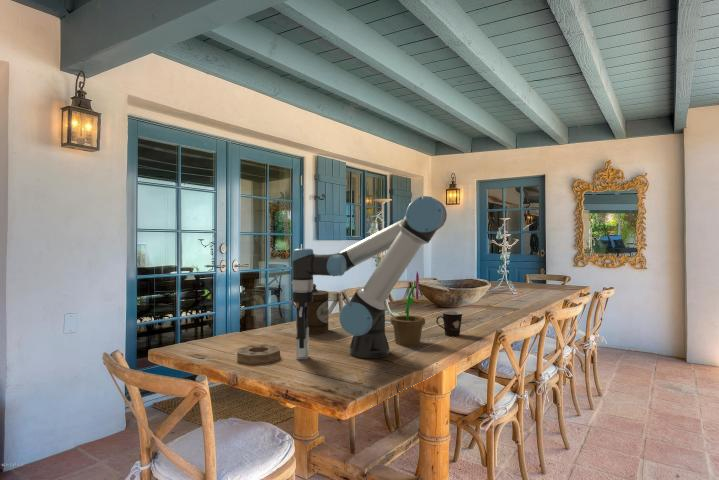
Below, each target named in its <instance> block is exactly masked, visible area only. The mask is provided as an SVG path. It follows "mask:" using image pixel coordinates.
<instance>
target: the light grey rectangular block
mask: <svg viewBox="0 0 719 480" xmlns="http://www.w3.org/2000/svg"><path fill="white" fill-rule="evenodd" d="M295 331H296V337H297V329H296V328H295ZM296 337H295V340H296V341H295V342H296V345H295V346H296V347H295V348H296V350H295V351H296V355H295V356H296V359H295V360H308V359H309V354H310V350H309V349H310V347H309V346H310V344H309V343H310V340H309V339H310V335H309V327H305V338H306V357H298V339H296Z"/></svg>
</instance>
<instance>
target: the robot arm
mask: <svg viewBox="0 0 719 480" xmlns="http://www.w3.org/2000/svg"><path fill="white" fill-rule="evenodd" d="M447 216H448V215H447V210H446V207H445V206H444V204H443V203H442V202H441V201H439V199H436V198H434V197H433V196H429V195H428V196H427V195H423V196H420V197H419V196H418V197H416V198H415V199H413V200H412V201H410V203H409V204H408V206H407V207H406V211H405V214H404V217H403V218H402V219H401V220H398V221H396V222H395V223H392V224H391V225H388V226H387V227H385V228H383V229H381V230H379V231H377V232H375V233H373V234H371V235H369V236H367V237H366V238H364V239H362V240H360V241H358V242H356V243H354V244H353V245H351V246H349V247H347V248H345V249H343V250H340V251H339V252H337V253H332V254H331V253H330V254H318V253H317V254H316V253H314V250H313V248H295V249H293V251H292V257H291V259H292V260H291V263H292V264H291V265H292V271H291V272H292V281H291V282H290V284H291V285H292V290H293V291H292V298H291V299H292V302H293V303H296V304H297V303H299V306H298V307H297V306H296V312H297V337H295V340H296V339H298V357H306V338H305V327H308V310H309V306H307V303H309V302H312V301H313V292H312V290H313V284H314V276H329V277H331V276H332V277H342V276H343V275H344V274H345V273H346V272H348V271H349V270H351V269H352V268H354V267H355V266H357V265H360V264H362V263H363V262H366V261H368V260H370V259H372V258H374V257H376V256H378V255H379V254H381V253H383V252H385V251H386V253H385V254H384V255H383V257H382V258H381V260H380V261H379V263H378V265H377V267H376V268H375V270H373V272H372V274H371V276H370V277H369V279H368V280H367V282H366V284H364V287H362V288H358V289H356V291H355V293H354V294H353V295H352V296H351V298H350V300H349V302H347V303H346V304H345V305H343V307H342V308H341V310H340V312H339V317H338V318H339V322H340V325H341V327H342V329H343V330H344V331H345V332H346V333H347V334H349V335H351V336H352V339H351V342H350V345H349V355H351V356H353V357H355V358H363V359H379V358H384V357H387V356H389V355H390V346H389V342H388V339H387V336H386V299H388V297H389V295H390V293H391V292H392V291H393V289H394V287H395V286H396V284H397V283H398V282H399V279H401V277H402V275H403V274H404V272H405V271H406V269H407V268H408V266H409V265H410V263H411V262H412V260H413V259H414V257H415V255H416V254H417V253H418V251H419V249H420V248H421V246H422V245H425V244H429V243H430V242H431V240H432V238H433V237H434V235H435V234H436V233H437V231H438V230H439V229H441V228H442V227H443V226H444V225H445V223H446V220H447Z"/></svg>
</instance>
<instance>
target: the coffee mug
mask: <svg viewBox="0 0 719 480" xmlns="http://www.w3.org/2000/svg"><path fill="white" fill-rule="evenodd" d="M440 318H441V319H442V321H443V326H442V325H441V324H440V323H439V319H440ZM462 318H463V312H462V311H457V310H446V311H442V316H441V315H440V316H438V317H436V323H437V325H438V326H439V327H440V328H442V329H443V330H444V335H445V336H447V337H453V338H455V337H460V334H461V325H462V320H463V319H462Z"/></svg>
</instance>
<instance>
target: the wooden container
mask: <svg viewBox="0 0 719 480" xmlns="http://www.w3.org/2000/svg"><path fill="white" fill-rule="evenodd" d="M312 292H313V301H312V302H309V303H307V306H309V310H308V327H309V336H310V335H321V334H325V333H328V332H329V291H327V290H318V289H317V285H316V283H313V290H312ZM298 306H299V303H296V308H297V307H298ZM295 317H296V318H295V319H296V321H295V322H296V323H295V325H296V327H295V330H296V329H297V311H296V315H295Z"/></svg>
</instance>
